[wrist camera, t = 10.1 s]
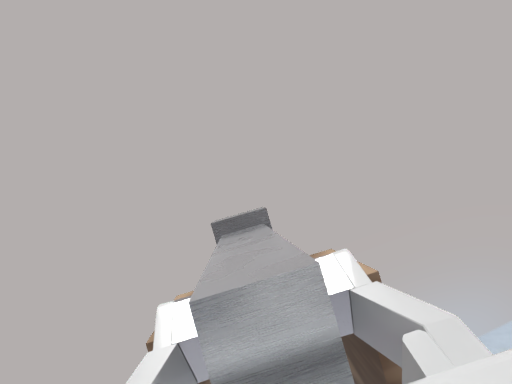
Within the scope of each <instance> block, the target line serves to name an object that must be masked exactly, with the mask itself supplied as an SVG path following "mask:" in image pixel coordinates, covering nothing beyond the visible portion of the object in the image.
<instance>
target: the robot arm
mask: <svg viewBox="0 0 512 384" xmlns="http://www.w3.org/2000/svg"><path fill="white" fill-rule="evenodd" d="M314 259H315V260H317V261H318V262H319V263H320V266H321V270H322V273H323V276H324V280H325V283H326V287H327V290H328V294H329V297H330V301H331V304H332V307H333V311H334V314H335V318H336V321H337V325H338V328H339V332H340V335H341V337H342V336H346V335H349V334H353V333H354V335H356V336H357V337H359V338H360V339H362V340H363V341H364V342H366V343H367V344H369V345H370V346H371V347H373V348H374V349H376V350H377V351H379V352H380V353H381V354H383V355H384V356H386V357H387V358H388V359H390V360H391V361H393V362H394V363H395V364H397V365H398V366H400V367H401V368H402V384H512V349H509V350H506V351H503V352H500V353H497V354H494V355H493V354H492V353H491V352H490V351H489V350H488V349H487V348H486V346H485V345H484V344H483V343H482V342H481V341H480V340H479V339H478V338H477V337H476V336H475V335H474V333H472V331H471V330H470V329H469V328H468V327H467V326H466V325H465V324H464V323H463V322H462V321H461V320H460V318H459V317H458V316H456V315H454V314H452V313H449V312H447V311H445V310H442V309H440V308H438V307H435V306H433V305H431V304H429V303H426V302H424V301H422V300H419V299H417V298H415V297H412V296H410V295H408V294H405V293H403V292H401V291H399V290H396V289H394V288H391V287H389V286H387V285H385V284H382V283H380V282H378V281H375V282H372V281H371V280H370V279H369V277H368V276H367V275H366V273H365V272H364V270H363V269H362V268H361V266H360V265H359V264H358V262H357V261H356V259H355V258H354V257H353V255H352V254H351V253H350V251H349V250H348V249H342V250H339V251H336V252H333V253H331V254H327V255H324V256H321V257H317V258H314ZM191 296H192V295H191ZM191 296H188V297H184V298H180V299H177V300H175V301H172V302H167V303H164V304H160V305H159V306H158V308H157V312H156V322H155V332H154V342H153V351H150V352H148V353H147V354H146V355H145V357H144V358H143V360H142V361H141V363H140V364H139V366H138V367H137V368H136V370H135V371H134V372H133V374H132V375H131V377H130V378H129V380H128V381H127V382H126V384H197V383H200V382H203V381H205V380H208V379H209V375H208V371H207V368H206V364H205V361H204V357H203V354H202V350H201V346H200V343H199V339H198V336H197V332H196V329H195V325H194V322H193V318H192V314H191V311H190V307H189V304H188V302H189V300H190V298H191Z"/></svg>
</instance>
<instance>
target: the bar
mask: <svg viewBox="0 0 512 384" xmlns="http://www.w3.org/2000/svg"><path fill="white" fill-rule="evenodd" d="M211 226H212V229H213V233H214V236H215V240H216V243H217V246H216V248H215V250H214V252H213V254H212V256H211V258H210V260H209V262H208V264H207V266H206V268H205V270H204V272H203V274H202V276H201V278H200V280H199V282H198V284H197V286H196V288H195V290H194V292H193V294H192V296H191V298H190V300H189V302H188V304H189V307H190V311H191V314H192V318H193V322H194V325H195V329H196V332H197V336H198V339H199V343H200V346H201V350H202V354H203V357H204V361H205V364H206V368H207V371H208V375H209V379H210V382H211V384H355V383H354V380H353V376H352V373H351V369H350V366H349V363H348V359H347V356H346V352H345V349H344V345H343V342H342V338H341V335H340V332H339V328H338V325H337V321H336V318H335V314H334V311H333V307H332V304H331V301H330V297H329V294H328V290H327V287H326V283H325V280H324V276H323V273H322V270H321V266H320V263H319V262H318V261H317V260H315V259H314V258H312V257H311V256H309V255H308V254H306V253H305V252H304V251H302V250H301V249H299V248H298V247H296V246H295V245H293V244H292V243H291V242H289V241H288V240H286V239H285V238H283V237H282V236H281V235H279V234H278V233H276V232H275V231H273V230H272V227H271V224H270V220H269V216H268V213H267V209H266V208H265V207H261V208H257V209H254V210H251V211H247V212H244V213H240V214H237V215H233V216H230V217H226V218H223V219H219V220H216V221H214V222H212V223H211Z"/></svg>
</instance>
